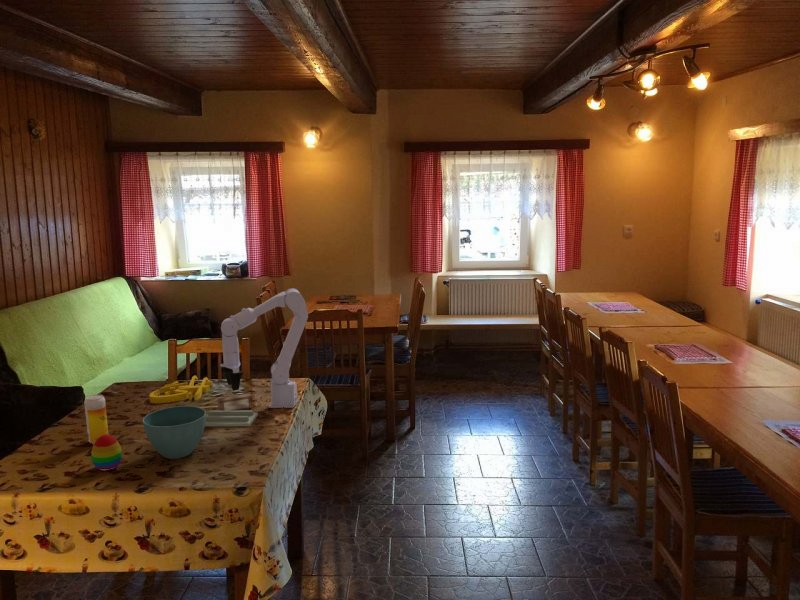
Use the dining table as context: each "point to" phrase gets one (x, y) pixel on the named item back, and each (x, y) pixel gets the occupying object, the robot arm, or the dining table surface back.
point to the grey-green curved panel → (230, 418)
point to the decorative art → (180, 391)
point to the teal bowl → (175, 430)
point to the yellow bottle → (95, 417)
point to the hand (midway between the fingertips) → (233, 387)
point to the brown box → (235, 402)
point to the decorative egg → (106, 452)
